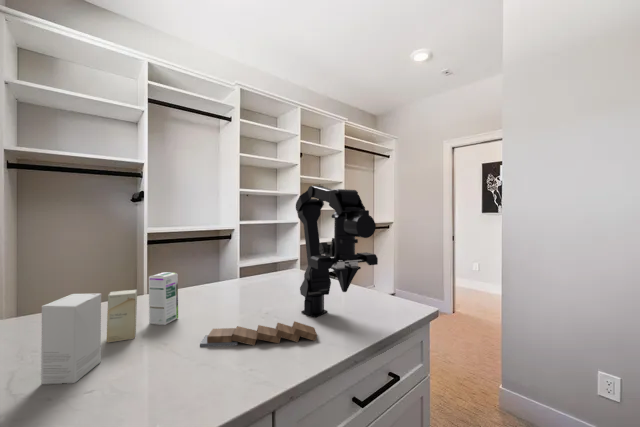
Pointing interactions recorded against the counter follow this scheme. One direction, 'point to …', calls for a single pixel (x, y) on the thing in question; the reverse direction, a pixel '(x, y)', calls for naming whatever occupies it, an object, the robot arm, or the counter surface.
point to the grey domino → (205, 344)
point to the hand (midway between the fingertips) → (344, 291)
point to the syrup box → (163, 298)
